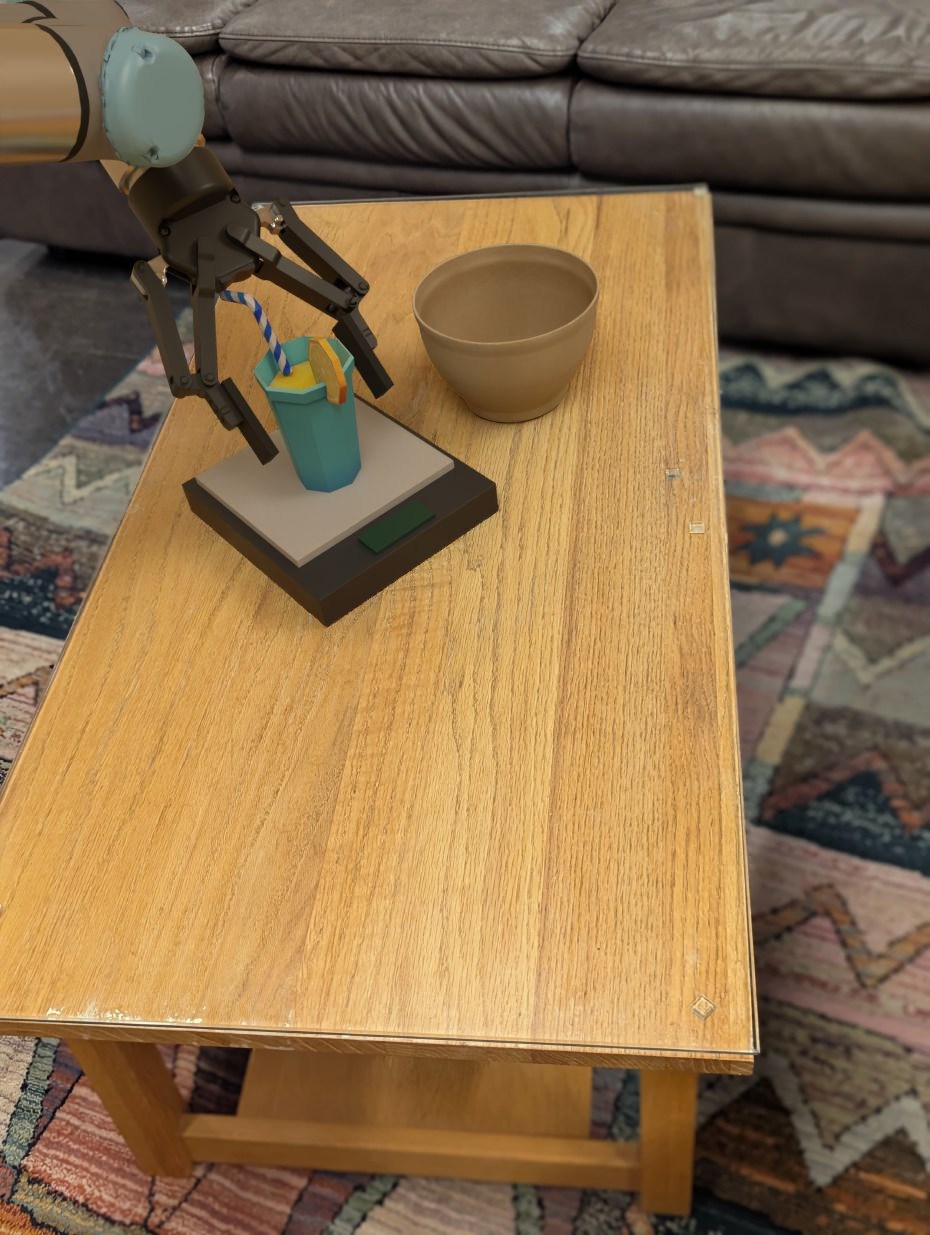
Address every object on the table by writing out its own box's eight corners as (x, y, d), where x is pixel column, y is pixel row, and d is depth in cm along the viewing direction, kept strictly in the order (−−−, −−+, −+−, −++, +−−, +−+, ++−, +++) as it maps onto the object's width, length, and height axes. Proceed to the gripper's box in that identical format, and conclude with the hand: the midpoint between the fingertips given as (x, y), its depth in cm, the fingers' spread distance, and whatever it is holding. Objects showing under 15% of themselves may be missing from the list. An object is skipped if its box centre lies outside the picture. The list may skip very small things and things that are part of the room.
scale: (326, 627, 82) (317, 593, 80) (190, 510, 94) (178, 477, 91) (499, 510, 90) (495, 475, 87) (353, 414, 101) (346, 380, 98)
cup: (232, 464, 91) (180, 306, 80) (297, 416, 95) (256, 260, 84) (349, 526, 84) (310, 363, 73) (414, 472, 88) (387, 309, 77)
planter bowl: (475, 332, 108) (464, 230, 100) (626, 362, 102) (627, 256, 94) (396, 425, 99) (377, 321, 91) (557, 465, 93) (552, 357, 85)
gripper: (279, 143, 89) (424, 374, 92) (27, 255, 80) (196, 508, 82) (302, 91, 82) (459, 343, 85) (30, 207, 73) (214, 485, 76)
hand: (329, 424), depth 84 cm, fingers open, 10 cm apart
